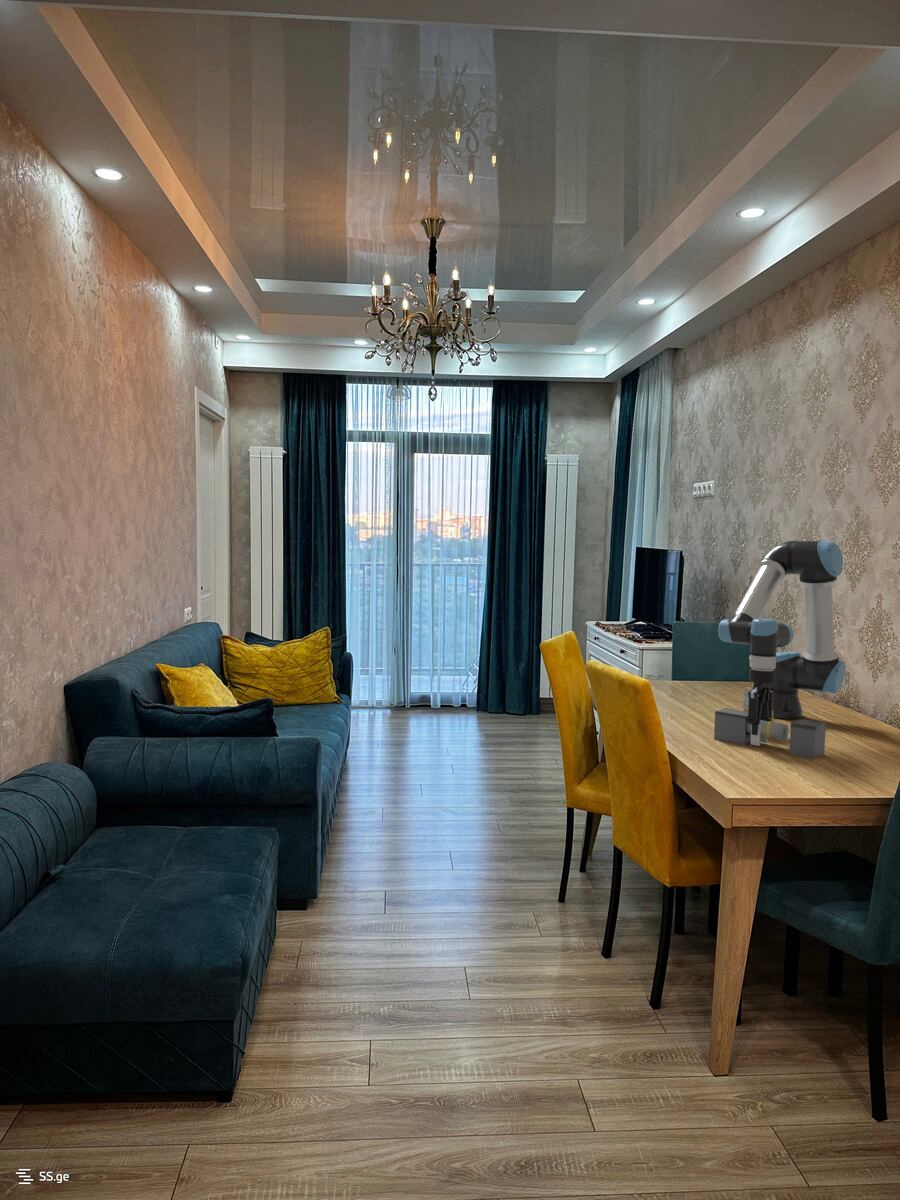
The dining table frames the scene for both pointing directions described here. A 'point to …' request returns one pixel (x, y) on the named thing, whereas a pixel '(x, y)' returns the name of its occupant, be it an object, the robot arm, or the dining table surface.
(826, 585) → the robot arm
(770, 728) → the tube
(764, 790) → the dining table surface
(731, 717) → the sleeve
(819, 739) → the socket
